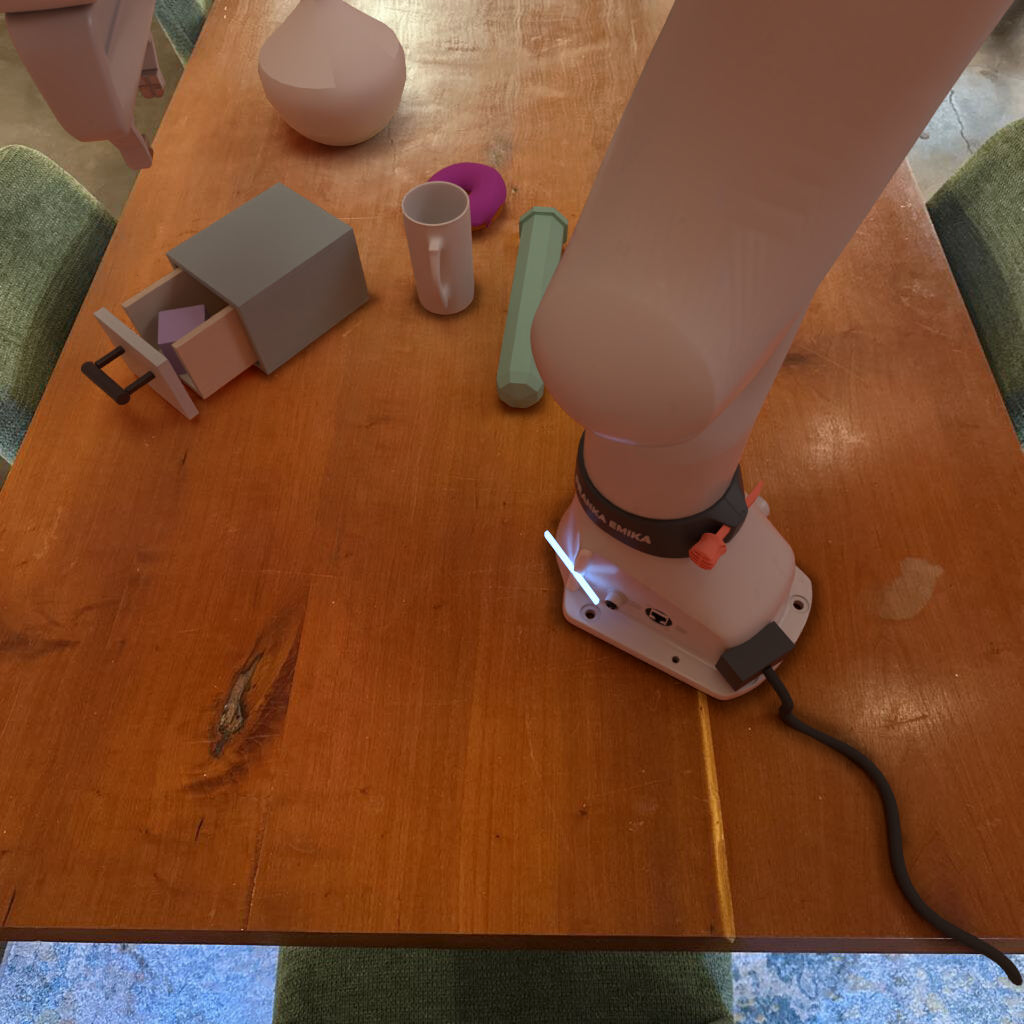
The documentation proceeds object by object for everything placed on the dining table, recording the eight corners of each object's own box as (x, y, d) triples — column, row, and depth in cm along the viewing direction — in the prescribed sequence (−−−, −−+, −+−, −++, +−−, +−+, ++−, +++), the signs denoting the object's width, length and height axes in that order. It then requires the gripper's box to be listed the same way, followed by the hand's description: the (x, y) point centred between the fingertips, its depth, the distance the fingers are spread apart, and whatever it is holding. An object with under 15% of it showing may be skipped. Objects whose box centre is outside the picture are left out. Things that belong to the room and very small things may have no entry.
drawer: (153, 447, 74) (115, 394, 67) (93, 393, 78) (52, 338, 71) (294, 343, 81) (272, 286, 74) (232, 298, 84) (207, 240, 78)
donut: (462, 176, 96) (459, 142, 92) (525, 208, 93) (525, 174, 89) (406, 219, 92) (401, 185, 88) (470, 253, 89) (468, 220, 85)
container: (534, 374, 71) (558, 198, 83) (477, 385, 73) (509, 213, 86) (556, 413, 75) (577, 240, 88) (502, 422, 78) (529, 253, 90)
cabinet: (268, 375, 80) (238, 306, 71) (200, 323, 84) (164, 252, 75) (370, 299, 85) (353, 227, 77) (302, 254, 89) (279, 181, 81)
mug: (418, 274, 87) (404, 181, 77) (477, 274, 87) (470, 180, 77) (411, 339, 82) (394, 248, 71) (474, 339, 82) (466, 248, 71)
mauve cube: (221, 367, 78) (205, 336, 74) (176, 375, 77) (157, 344, 73) (220, 336, 80) (204, 303, 76) (176, 343, 79) (158, 311, 76)
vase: (250, 123, 103) (198, -37, 87) (360, 71, 109) (330, -88, 93) (328, 185, 96) (287, 22, 79) (441, 125, 102) (424, -37, 86)
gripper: (31, -146, 53) (124, 60, 64) (-38, -3, 42) (89, 214, 54) (123, -155, 53) (199, 52, 65) (79, -15, 42) (179, 203, 54)
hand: (149, 126), depth 59 cm, fingers open, 8 cm apart
